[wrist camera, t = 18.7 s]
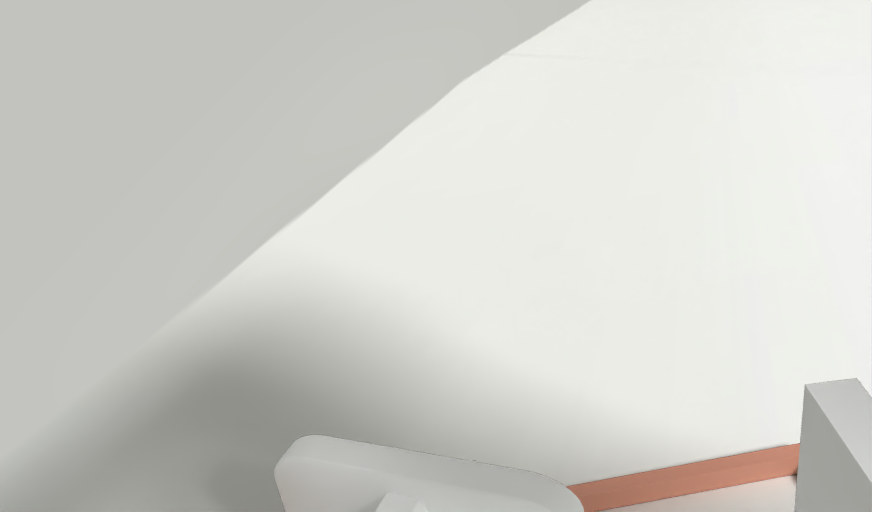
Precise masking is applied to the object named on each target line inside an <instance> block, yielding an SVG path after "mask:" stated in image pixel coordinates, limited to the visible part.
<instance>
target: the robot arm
mask: <svg viewBox="0 0 872 512" xmlns="http://www.w3.org/2000/svg"><path fill="white" fill-rule="evenodd" d="M794 512H872V397H871V396H870V395H869V393H868V392H867V391H866V390H865V388H864V387H863V386H862V384H861V383H860V382H859V381H858V379H857V378H852V379H844V380H836V381H828V382H821V383H813V384H805V389H804V401H803V413H802V425H801V438H800V450H799V462H798V474H797V486H796V498H795V511H794Z"/></svg>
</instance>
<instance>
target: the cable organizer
mask: <svg viewBox="0 0 872 512" xmlns="http://www.w3.org/2000/svg"><path fill="white" fill-rule="evenodd" d="M274 478H275V481H276V484H277V487H278V490H279V494H280V497H281V500H282V503H283V506H284V509H285V512H584V508H583V506H582V504H581V502H580V500H579V499H578V497H577V496H576V495H575V494H574V493H573V492H572V491H571V490H569V489H568V488H567V487H565V486H564V485H562V484H561V483H559V482H557V481H555V480H553V479H551V478H549V477H546V476H544V475H541V474H538V473H534V472H530V471H525V470H520V469H514V468H508V467H502V466H497V465H491V464H485V463H479V462H476V461H475V460H473V461H468V460H462V459H456V458H451V457H445V456H439V455H434V454H428V453H422V452H416V451H411V450H405V449H399V448H393V447H388V446H382V445H376V444H370V443H365V442H359V441H353V440H347V439H342V438H336V437H330V436H324V435H308V436H304V437H301V438H299V439H297V440H296V441H294V442H293V444H292V445H291V446H290V447H289V449H288V450H287V451H286V453H285V454H284V455H283V456H282V458H281V459H280V460H279V462H278V463H277V464H276V466H275V468H274Z"/></svg>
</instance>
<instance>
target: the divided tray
mask: <svg viewBox="0 0 872 512" xmlns="http://www.w3.org/2000/svg"><path fill="white" fill-rule="evenodd" d="M799 450H800V443H798V444H792V445H787V446H782V447H776V448H771V449H766V450H760V451H755V452H749V453H744V454H739V455H733V456H728V457H723V458H717V459H712V460H707V461H701V462H696V463H690V464H685V465H680V466H674V467H669V468H664V469H658V470H653V471H647V472H642V473H637V474H631V475H626V476H621V477H615V478H610V479H604V480H599V481H594V482H588V483H583V484H578V485H572V486H567V488H568V489H569V490H571V491H572V492H573V493H574V494H575V495H576V496H577V497H578V499H579V500H580V502H581V504H582V506H583V508H584V512H596V511H601V510H606V509H612V508H617V507H622V506H628V505H633V504H639V503H644V502H649V501H655V500H660V499H665V498H671V497H676V496H681V495H687V494H692V493H697V492H703V491H708V490H713V489H719V488H724V487H729V486H735V485H740V484H745V483H751V482H756V481H761V480H767V479H772V478H777V477H783V476H788V475H794V474H798V462H799Z"/></svg>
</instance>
